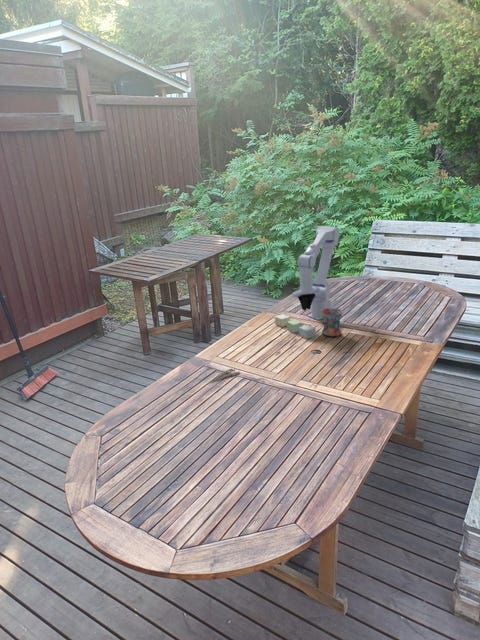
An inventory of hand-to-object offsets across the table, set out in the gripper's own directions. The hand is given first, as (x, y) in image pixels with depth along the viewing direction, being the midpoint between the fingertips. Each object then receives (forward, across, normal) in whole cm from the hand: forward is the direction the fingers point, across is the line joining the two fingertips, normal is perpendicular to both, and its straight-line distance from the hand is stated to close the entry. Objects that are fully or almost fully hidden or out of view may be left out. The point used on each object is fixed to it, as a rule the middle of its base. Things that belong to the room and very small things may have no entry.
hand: (306, 309), depth 210 cm
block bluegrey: (+9, -7, -9) cm, 14 cm away
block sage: (+9, -7, 0) cm, 11 cm away
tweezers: (+9, -59, -20) cm, 63 cm away
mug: (+9, +4, -14) cm, 17 cm away
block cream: (+9, -7, +9) cm, 14 cm away
